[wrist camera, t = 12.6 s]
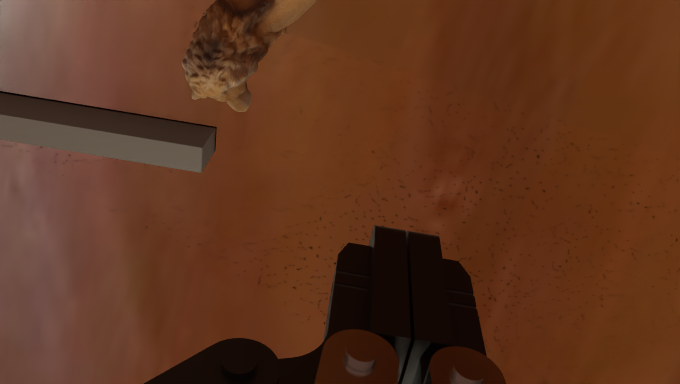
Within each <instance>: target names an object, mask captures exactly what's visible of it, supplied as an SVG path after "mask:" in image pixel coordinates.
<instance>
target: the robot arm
mask: <svg viewBox="0 0 680 384" xmlns="http://www.w3.org/2000/svg"><path fill="white" fill-rule="evenodd" d="M144 384H506V381H505V378H504V376H503V374H502V372H501V370H500V369H499V368H498V366H497V365H496V364H495V363H494V362H493V361H492V360H490V359H489V358H488V357H487V356H486V351H485V346H484V341H483V336H482V332H481V327H480V322H479V317H478V312H477V309H476V302H475V297H474V296H473V288H472V283H471V278H470V276H469V275H468V273H467V272H466V271H465V269H464V268H463V267H462V265H461V264H460V263H459V261H454V260H448V259H442V252H441V245H440V238H439V236H435V235H429V234H423V233H418V232H412V231H407V232H406V231H405V230H399V229H394V228H388V227H382V226H376V225H374V227H373V231H372V235H371V240H370V244H369V246H365V245H360V244H354V243H348V244H347V245H346V246H345V247H344V249H343V250H342V251H341V252H340V253H339V254H338V257H337V263H336V268H335V274H334V279H333V284H332V290H331V295H330V300H329V306H328V313H327V320H326V327H325V334H324V341H323V343H322V344H321V345H320V346H319V347H318V348H317V349H315V350H314V351H312V352H310V353H308V354H306V355H303V356H299V357H293V358H284V359H278V358H277V357H276V355H275V354H274V352H273V351H272V350H271V349H270V348H268V347H267V346H266V345H264V344H262V343H260V342H257V341H255V340H251V339H245V338H232V339H226V340H223V341H220V342H218V343H216V344H213V345H212V346H210V347H208V348H206V349H205V350H203V351H201V352H199V353H197V354H196V355H194V356H192V357H190V358H188V359H187V360H185V361H183V362H181V363H180V364H178V365H176V366H174V367H172V368H171V369H169V370H167V371H165V372H164V373H162V374H160V375H158V376H156V377H155V378H153V379H151V380H149V381H148V382H146V383H144Z"/></svg>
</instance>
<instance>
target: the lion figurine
mask: <svg viewBox="0 0 680 384" xmlns="http://www.w3.org/2000/svg"><path fill="white" fill-rule="evenodd" d="M316 1H317V0H216V1H215V3H213V4H212V5H211V6H210V7H209V9H207V13H206V15H205V16H203V17H202V18H201V19H200V21H199V25H198V28H197V30H196V31H195V32H194V33H193V37H192V39H193V40H192V41H191V43H190V46H189V47H190V49H188V50H187V51H186V55H185V58H184V60H183V61H182V66H183V68H184V69H185V78H186V80H187V81H188V83H189V85H190V87H191V88H192V90H193V91H192V99H194V100H196V99H198V98H200V97H201V98H207V97H211V98H215V99H216V100H218V101H222V102H225V101H227V103H228V104H229V105H230V106H231V107H232V108H233V109H234V110H235V111H237V112H244V111H246V110H247V109H248V107H249V103H250V102H251V93H250V92H249V90H248V88H247V84H246V80H247V79H248V77H249V76H250V75H252V74H253V73H255V72H256V71H257V68H258V65H257V63H258V62H259V61H260V60H261V59H262V58H263V57H264V56H265V55H266V53H267V51H268V48H269V46H270V45H272V44H273V43H275V42H276V40H277V38H278V37H279V36H280V35H283V34H284V33H285V30H286V27H287V26H289V25H290V24H292V23H293V22H295V21H296V20H297V19H299V18H300V17H301V16H302V15H303V14H304V13H305V12H306V11H307V10H308V9H309V8H310V7H311V6H312V5H313V4H314V3H315V2H316Z"/></svg>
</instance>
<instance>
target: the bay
mask: <svg viewBox="0 0 680 384" xmlns="http://www.w3.org/2000/svg"><path fill="white" fill-rule="evenodd" d="M216 129H217V127H214V126H208V125H202V124H196V123H190V122H184V121H178V120H172V119H166V118H160V117H154V116H148V115H142V114H136V113H130V112H124V111H118V110H112V109H106V108H100V107H94V106H87V105H81V104H75V103H69V102H63V101H57V100H51V99H45V98H39V97H33V96H27V95H21V94H15V93H9V92H3V91H0V140H6V141H12V142H18V143H25V144H31V145H37V146H43V147H49V148H55V149H61V150H67V151H73V152H79V153H85V154H91V155H97V156H103V157H109V158H115V159H121V160H127V161H133V162H139V163H146V164H152V165H158V166H164V167H170V168H176V169H182V170H188V171H194V172H200V173H201V172H202V171H203V169H204V168H205V166H206V164H207V163H208V161H209V160H210V158H211V156H212V155H213V153H214V152H215V148H216Z"/></svg>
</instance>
